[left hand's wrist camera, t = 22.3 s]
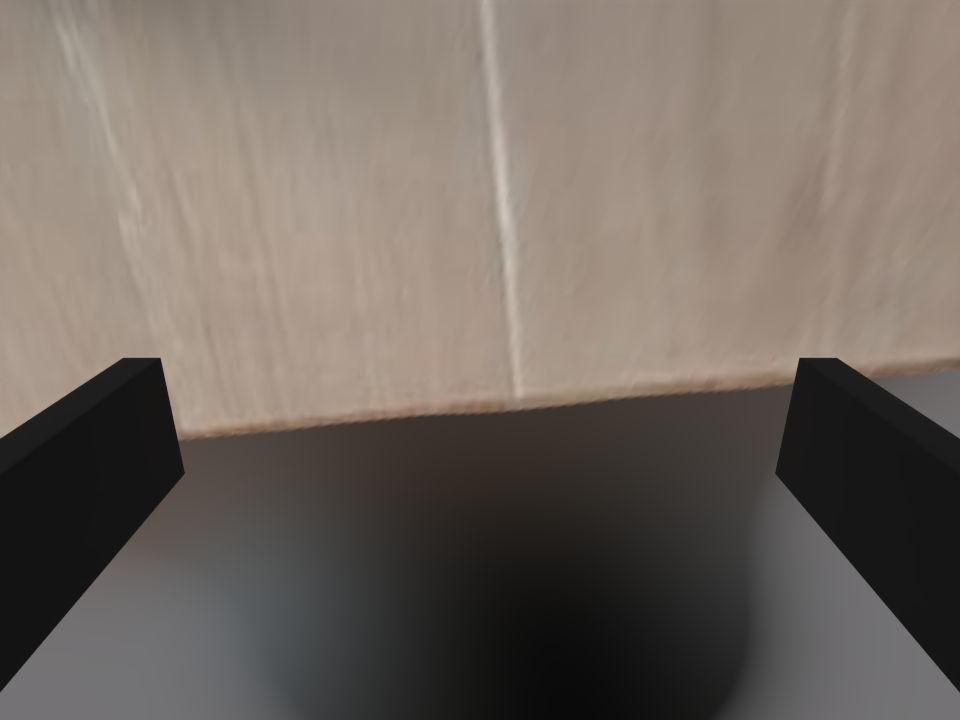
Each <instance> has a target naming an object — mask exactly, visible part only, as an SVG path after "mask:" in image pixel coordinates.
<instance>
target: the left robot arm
mask: <svg viewBox="0 0 960 720" xmlns="http://www.w3.org/2000/svg"><path fill="white" fill-rule="evenodd" d="M184 474H185V472H184V467H183V462H182V458H181V453H180V448H179V443H178V439H177V434H176V429H175V424H174V420H173V415H172V410H171V405H170V401H169V396H168V391H167V386H166V382H165V377H164V372H163V367H162V363H161V358H122V359H121V360H119V361H118V362H116V363H115V364H113V365H112V366H110V367H109V368H107V369H106V370H104V371H103V372H101V373H100V374H98V375H96V376H95V377H93V378H92V379H90V380H89V381H87V382H86V383H84V384H83V385H81V386H80V387H78V388H77V389H75V390H74V391H72V392H71V393H69V394H68V395H66V396H65V397H63V398H62V399H60V400H58V401H57V402H55V403H54V404H52V405H51V406H49V407H48V408H46V409H45V410H43V411H42V412H40V413H39V414H37V415H36V416H34V417H33V418H31V419H30V420H28V421H27V422H25V423H24V424H22V425H20V426H19V427H17V428H16V429H14V430H13V431H11V432H10V433H8V434H7V435H5V436H4V437H2V438H1V439H0V692H1V691H2V690H3V688H4V687H5V686H6V685H7V684H8V683H9V681H10V680H11V679H12V678H13V677H14V675H15V674H16V673H17V672H18V671H19V669H20V668H21V667H22V666H23V665H24V664H25V662H26V661H27V660H28V659H29V658H30V656H31V655H32V654H33V653H34V652H35V651H36V649H37V648H38V647H39V646H40V645H41V643H42V642H43V641H44V640H45V639H46V637H47V636H48V635H49V634H50V633H51V632H52V630H53V629H54V628H55V627H56V626H57V624H58V623H59V622H60V621H61V620H62V618H63V617H64V616H65V615H66V614H67V613H68V611H69V610H70V609H71V608H72V607H73V605H74V604H75V603H76V602H77V601H78V599H79V598H80V597H81V596H82V595H83V593H84V592H85V591H86V590H87V589H88V588H89V586H90V585H91V584H92V583H93V582H94V581H95V579H96V578H97V577H98V576H99V575H100V573H101V572H102V571H103V570H104V569H105V567H106V566H107V565H108V564H109V563H110V562H111V560H112V559H113V558H114V557H115V556H116V554H117V553H118V552H119V551H120V550H121V548H122V547H123V546H124V545H125V544H126V543H127V541H128V540H129V539H130V538H131V537H132V535H133V534H134V533H135V532H136V531H137V530H138V528H139V527H140V526H141V525H142V524H143V522H144V521H145V520H146V519H147V518H148V516H149V515H150V514H151V513H152V512H153V511H154V509H155V508H156V507H157V506H158V505H159V503H160V502H161V501H162V500H163V499H164V498H165V496H166V495H167V494H168V493H169V492H170V490H171V489H172V488H173V487H174V486H175V484H176V483H177V482H178V481H179V480H180V479H181V477H182V476H183V475H184ZM775 474H776V475H777V476H778V477H779V479H780V480H781V481H782V482H783V483H784V484H785V486H786V487H787V488H788V489H789V490H790V491H791V493H792V494H793V495H794V496H795V497H796V499H797V500H798V501H799V502H800V503H801V505H802V506H803V507H804V508H805V509H806V511H807V512H808V513H809V514H810V515H811V516H812V518H813V519H814V520H815V521H816V522H817V524H818V525H819V526H820V527H821V528H822V530H823V531H824V532H825V533H826V534H827V535H828V537H829V538H830V539H831V540H832V541H833V542H834V544H835V545H836V546H837V547H838V548H839V550H840V551H841V552H842V553H843V554H844V556H845V557H846V558H847V559H848V560H849V562H850V563H851V564H852V565H853V566H854V567H855V569H856V570H857V571H858V572H859V573H860V575H861V576H862V577H863V578H864V579H865V580H866V582H867V583H868V584H869V585H870V586H871V588H872V589H873V590H874V591H875V592H876V594H877V595H878V596H879V597H880V598H881V600H882V601H883V602H884V603H885V604H886V605H887V607H888V608H889V609H890V610H891V611H892V613H893V614H894V615H895V616H896V617H897V618H898V620H899V621H900V622H901V623H902V624H903V626H904V627H905V628H906V629H907V630H908V632H909V633H910V634H911V635H912V636H913V637H914V639H915V640H916V641H917V642H918V643H919V645H920V646H921V647H922V648H923V649H924V650H925V652H926V653H927V654H928V655H929V656H930V658H931V659H932V660H933V661H934V662H935V664H936V665H937V666H938V667H939V668H940V670H941V671H942V672H943V673H944V674H945V675H946V677H947V678H948V679H949V680H950V681H951V683H952V684H953V685H954V686H955V687H956V688H957V690H958V691H959V692H960V439H959V438H958V437H956V436H955V435H953V434H952V433H950V432H949V431H947V430H946V429H944V428H943V427H941V426H940V425H938V424H936V423H935V422H933V421H932V420H930V419H929V418H927V417H926V416H924V415H923V414H921V413H920V412H918V411H917V410H915V409H914V408H912V407H911V406H909V405H908V404H906V403H905V402H903V401H902V400H900V399H898V398H897V397H895V396H894V395H892V394H891V393H889V392H888V391H886V390H885V389H883V388H882V387H880V386H879V385H877V384H876V383H874V382H873V381H871V380H870V379H868V378H867V377H865V376H864V375H862V374H860V373H859V372H857V371H856V370H854V369H853V368H851V367H850V366H848V365H847V364H845V363H844V362H842V361H841V360H839V359H838V358H799V363H798V367H797V372H796V377H795V382H794V386H793V391H792V396H791V401H790V406H789V410H788V415H787V420H786V424H785V429H784V434H783V439H782V443H781V448H780V453H779V458H778V463H777V468H776V472H775Z"/></svg>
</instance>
